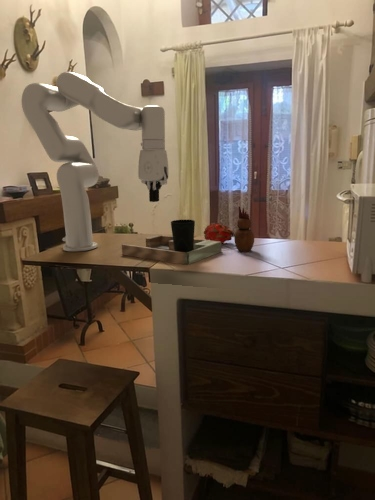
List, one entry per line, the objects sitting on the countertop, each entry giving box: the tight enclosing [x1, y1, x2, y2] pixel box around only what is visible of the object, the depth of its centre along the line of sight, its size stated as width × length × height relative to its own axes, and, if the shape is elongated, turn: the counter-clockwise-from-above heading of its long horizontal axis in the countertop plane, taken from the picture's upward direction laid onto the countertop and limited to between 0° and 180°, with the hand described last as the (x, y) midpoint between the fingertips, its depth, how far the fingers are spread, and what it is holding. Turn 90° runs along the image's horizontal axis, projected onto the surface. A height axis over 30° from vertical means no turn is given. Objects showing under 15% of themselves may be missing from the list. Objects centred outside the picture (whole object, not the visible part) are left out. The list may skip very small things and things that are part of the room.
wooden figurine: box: [233, 206, 255, 253], centre depth 132 cm, size 7×6×15 cm
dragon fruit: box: [203, 222, 235, 245], centre depth 145 cm, size 8×8×12 cm
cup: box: [170, 219, 196, 253], centre depth 125 cm, size 8×8×12 cm
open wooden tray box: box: [121, 234, 223, 266], centre depth 133 cm, size 28×20×4 cm
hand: (154, 201), depth 133 cm, fingers closed
